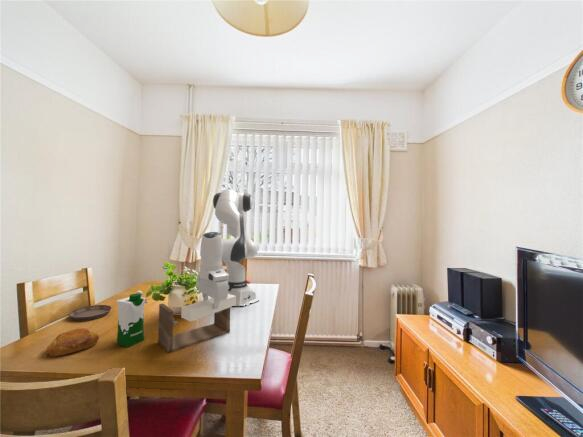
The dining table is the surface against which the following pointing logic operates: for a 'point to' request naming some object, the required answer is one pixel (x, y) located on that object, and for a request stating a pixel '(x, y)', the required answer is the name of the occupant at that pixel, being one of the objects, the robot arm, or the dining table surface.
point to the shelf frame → (192, 336)
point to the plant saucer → (90, 312)
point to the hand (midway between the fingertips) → (210, 306)
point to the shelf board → (206, 308)
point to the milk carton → (130, 320)
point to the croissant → (72, 342)
